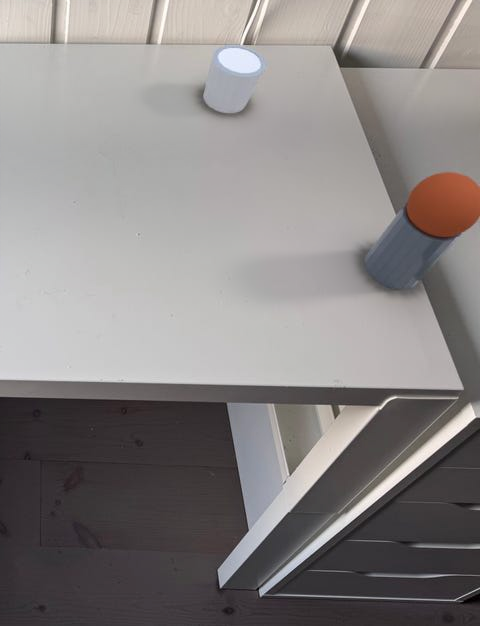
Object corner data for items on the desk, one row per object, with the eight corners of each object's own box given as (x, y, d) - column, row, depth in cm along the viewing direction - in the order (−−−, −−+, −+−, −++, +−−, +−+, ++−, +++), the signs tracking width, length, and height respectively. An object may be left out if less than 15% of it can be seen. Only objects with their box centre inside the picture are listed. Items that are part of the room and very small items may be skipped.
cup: (403, 253, 78) (449, 198, 71) (422, 294, 75) (473, 241, 67) (353, 252, 78) (394, 197, 70) (370, 294, 74) (415, 240, 67)
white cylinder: (254, 101, 93) (274, 56, 87) (237, 127, 89) (255, 83, 84) (208, 82, 95) (224, 37, 89) (189, 108, 91) (204, 63, 86)
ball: (443, 206, 72) (482, 160, 67) (467, 252, 68) (511, 207, 63) (385, 203, 71) (420, 156, 66) (406, 249, 68) (445, 203, 63)
